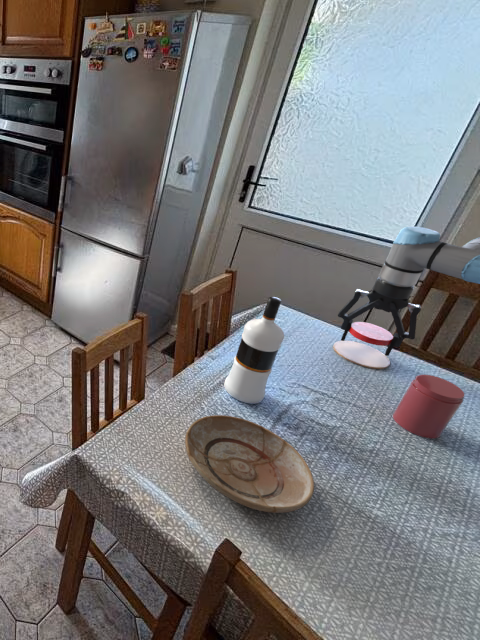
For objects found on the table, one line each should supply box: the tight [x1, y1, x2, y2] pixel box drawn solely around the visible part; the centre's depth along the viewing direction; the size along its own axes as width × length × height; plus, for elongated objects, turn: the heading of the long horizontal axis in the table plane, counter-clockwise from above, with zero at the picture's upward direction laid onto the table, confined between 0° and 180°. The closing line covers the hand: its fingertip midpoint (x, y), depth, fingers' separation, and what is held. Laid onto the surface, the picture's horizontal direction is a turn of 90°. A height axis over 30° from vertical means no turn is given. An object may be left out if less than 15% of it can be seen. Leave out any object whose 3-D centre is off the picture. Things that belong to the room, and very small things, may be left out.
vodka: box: [223, 296, 285, 405], centre depth 106 cm, size 9×9×30 cm
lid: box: [348, 321, 394, 347], centre depth 122 cm, size 9×9×2 cm
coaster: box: [332, 339, 391, 370], centre depth 125 cm, size 13×13×1 cm
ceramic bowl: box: [184, 414, 315, 514], centre depth 90 cm, size 23×24×5 cm
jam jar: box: [392, 374, 465, 440], centre depth 99 cm, size 8×8×12 cm
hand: (364, 345), depth 124 cm, fingers closed on lid, 9 cm apart
